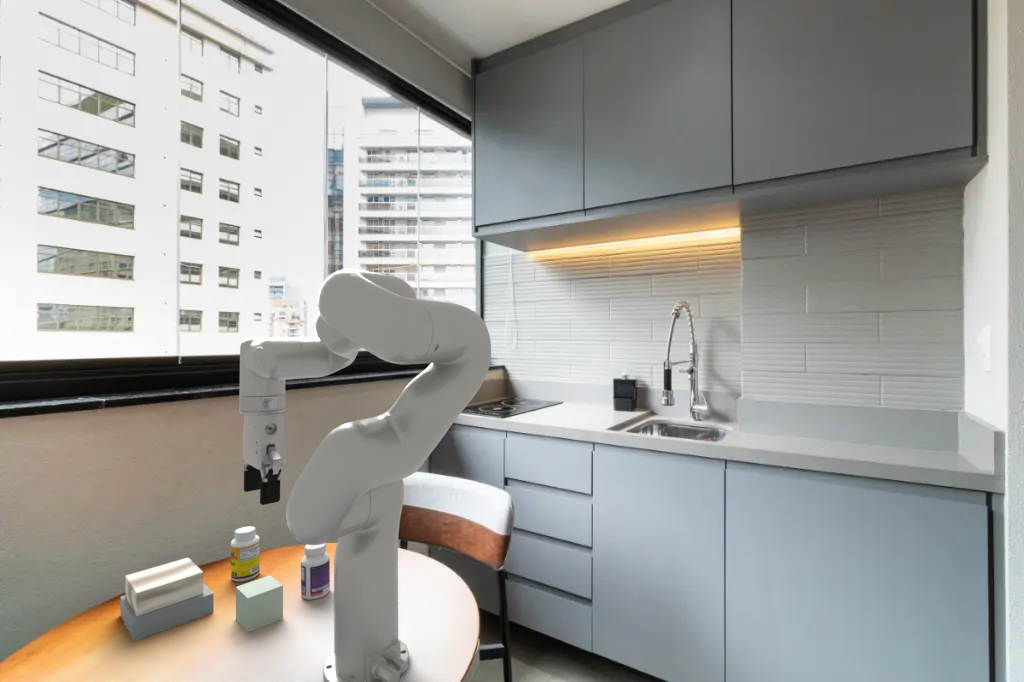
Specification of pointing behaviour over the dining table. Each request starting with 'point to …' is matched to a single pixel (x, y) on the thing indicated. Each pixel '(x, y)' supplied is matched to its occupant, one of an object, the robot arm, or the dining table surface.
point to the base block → (166, 614)
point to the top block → (163, 585)
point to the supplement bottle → (245, 554)
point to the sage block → (259, 603)
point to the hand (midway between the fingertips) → (261, 496)
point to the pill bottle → (315, 572)
